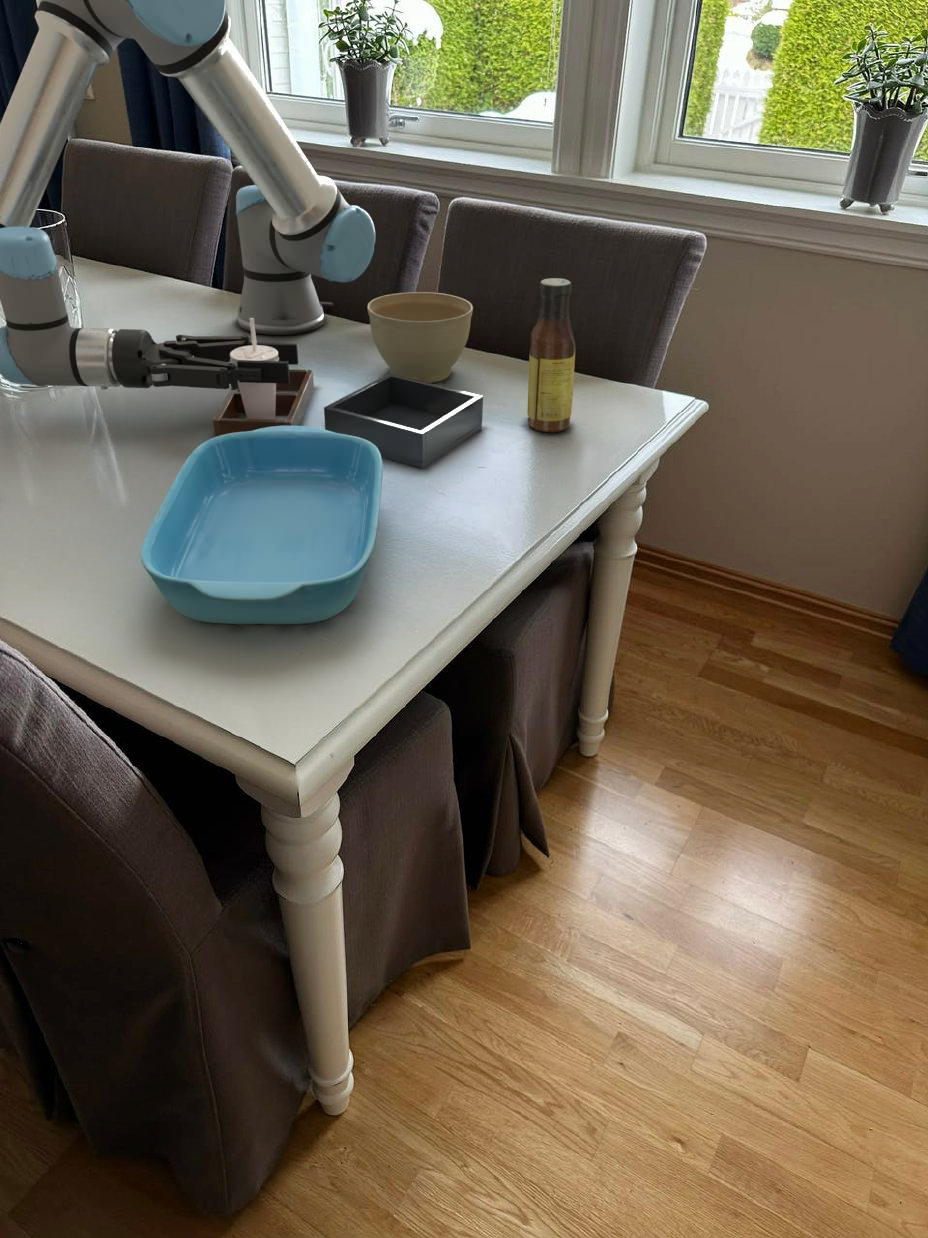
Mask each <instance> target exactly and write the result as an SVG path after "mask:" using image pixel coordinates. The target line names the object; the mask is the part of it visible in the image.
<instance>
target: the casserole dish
mask: <svg viewBox="0 0 928 1238" xmlns="http://www.w3.org/2000/svg"><path fill="white" fill-rule="evenodd" d="M382 458H383V457H381V454H380V452H379V450H378V448H377V447H376V446H375V445H374V444H372V443H371V442H369V441H367V440H365V439H362V438H359V437H355V436H350V435H345V434H339V433H334V432H331V431H328V430H325V428H320V427H316V426H310V425H309V426H308V425H300V426H273V427H266V428H261V429H257V430H253V431H247V432H237V433H230V434H225V435H221V436H218V437H215V436H214V437H212V438H209V439H207V440H206V441H204V442H202V443H201V444H200V445H198V446H197V447H195V449H194V450H193V451H192V452H191V453H190V454H189V456H187V459H186V460H185V462H184V463H183V464H182V466H181V468H180V470H179V472H177V475H176V477H175V479H174V481H173V483H172V485H171V487H170V488H169V490H168V492H167V493H166V496H165V498H164V500H163V501H162V503H161V505H160V507H159V509H158V510H157V513H156V514H155V516H154V518H153V520H152V521H151V523H150V525H149V527H148V530H147V532H146V534H145V536H144V539H143V540H142V541H143V542H142V544H141V548H140V562H141V564H142V567H143V568H144V570H146V572H147V574H148V575H149V576H150V577H151V579H152V580H153V582H154V584H155V585H156V587H157V589H158V590H159V592H160V593H161V595H162V597H163V598H164V599H165V600H166V601H167V603H168V604H169V605H170V606H171V607H172V608H173V609H174V610H175V611H177V612H178V613H179V614H181V615H182V616H185V617H187V618H189V619H192V620H194V621H195V620H196V621H199V622H205V623H211V624H226V625H227V624H229V625H257V624H259V625H303V624H304V625H305V624H313V623H318V622H321V621H325V620H328V619H330V618H333V617H334V616H336V615H339V614H341V612H343V611H344V610H345V609H346V608H347V607H348V606H349V605H351V604H352V602H353V601H354V599H355V598H356V596H357V594H358V592H359V590H360V588H361V586H362V583H363V581H364V578H365V576H366V574H367V569H368V566H369V563H370V559H371V557H372V554H373V552H374V550H375V546H376V540H377V536H378V528H379V518H380V510H381V509H380V508H381V497H382V486H383V476H384V475H383V473H384V471H383V470H384V467H383V465H384V463H383V459H382Z"/></svg>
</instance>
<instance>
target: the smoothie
mask: <svg viewBox="0 0 928 1238" xmlns="http://www.w3.org/2000/svg"><path fill="white" fill-rule="evenodd" d="M250 328H251V331H250V337H251V342H252V345H250V346H243V347H239V348H236V349H234V350H233V351H231V353H230V363H235V364H236V367H237V361H238V360H254V361H279V357H278V351H277V350H276V349H275V348H272V347H269V346H263V345H257V344H256V342H257V336H256V335H257V333H255V325H254V318H250ZM238 385H239V389H240V393H241V397H242V401H243V405H244V409H245V412H246V414H245V416H246V419H263V420H276V415H275V404H276V393H277V390H276V383H246V382H239V381H238Z"/></svg>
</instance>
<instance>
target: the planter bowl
mask: <svg viewBox="0 0 928 1238" xmlns="http://www.w3.org/2000/svg"><path fill="white" fill-rule="evenodd" d="M473 310H474V306H473V304H472V303H471V302H470V301H468V300H467V299H465V298H462V297H460V296H456V295H452V294H446V293H440V292H431V291H429V292H428V291H416V292H415V291H412V292H411V291H410V292H399V293H391V294H385V295H382V296H379V297H378V296H377V297H376V298H373V299H372V300H371V301H369V302H368V303H367V314H368V316H369V325H370V332H371V335H372V339H373V342H374V345H375V347H376V349H377V351H378V353H379V355H380V356H381V358H382V360H383V361H384V362H385V364H386V365H387V366H388V368H389V372H390V374H395V375H399V376H403V377H407V378H411V379H415V380H419V381H423V382H428V383H432V384H434V383H437V382H441V381H444V380H447V378H449V377H450V376H451V373H452V368H453V367H454V366H455V364H456V363H457V361H458V359H459V358H460V357H461V354H462V353H463V351H464V349H465V348H466V344H467V342H468V339H469V334H470V329H471V321H472V320H471V319H472V317H473V316H472V315H473Z"/></svg>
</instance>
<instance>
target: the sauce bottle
mask: <svg viewBox="0 0 928 1238" xmlns="http://www.w3.org/2000/svg"><path fill="white" fill-rule="evenodd" d="M539 293H540V310H539V316H538V320H537V322H536V325H535V326H534V328H533V329H532V331H531V332H530V347H529V348H530V350H529V359H528V381H527V382H528V383H527V385H528V386H527V391H528V392H527V409H526V410H527V411H526V412H527V414H526V415H527V416H528V417H527V424H528V426H530V427H531V428H533V429H534V430H535V431H538V432H542V433H543V432H544V433H559V432H562V431H565V430H566V429H568V428H569V426H570V421H571V416H572V410H573V397H574V380H575V366H576V365H575V363H576V362H575V361H576V342H575V341H576V340H575V337H574V331H573V329H572V328H573V327H572V324H571V319H570V314H569V307H570V306H569V305H570V295H571V293H572V282H571V281H569V280H568V279H566V278H557V277H554V278H553V277H551V278H545V279H542V280H541V281H540V284H539Z"/></svg>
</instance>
